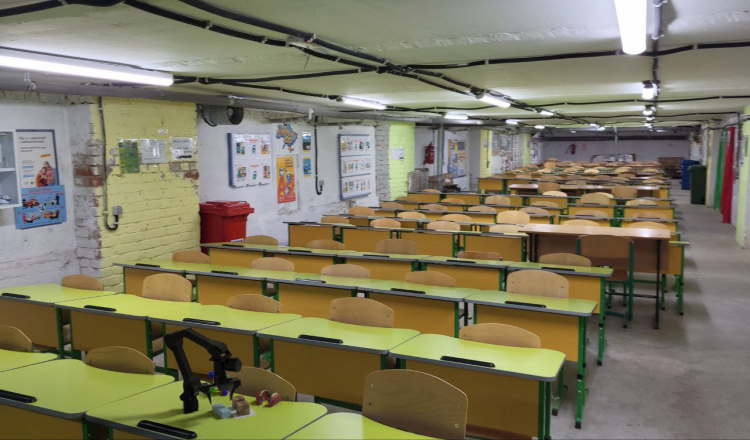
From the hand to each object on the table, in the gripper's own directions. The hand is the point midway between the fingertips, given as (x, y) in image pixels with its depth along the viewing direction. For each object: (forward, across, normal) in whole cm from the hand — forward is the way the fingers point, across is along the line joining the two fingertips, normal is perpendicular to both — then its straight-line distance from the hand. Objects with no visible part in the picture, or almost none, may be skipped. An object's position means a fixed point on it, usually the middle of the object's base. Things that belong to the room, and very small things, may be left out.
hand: (220, 402), depth 277 cm
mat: (+6, +9, -1) cm, 11 cm away
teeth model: (+6, +24, +1) cm, 25 cm away
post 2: (+5, +9, -5) cm, 12 cm away
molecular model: (+6, +6, +27) cm, 28 cm away
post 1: (+5, +9, +3) cm, 11 cm away
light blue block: (+6, 0, 0) cm, 6 cm away
